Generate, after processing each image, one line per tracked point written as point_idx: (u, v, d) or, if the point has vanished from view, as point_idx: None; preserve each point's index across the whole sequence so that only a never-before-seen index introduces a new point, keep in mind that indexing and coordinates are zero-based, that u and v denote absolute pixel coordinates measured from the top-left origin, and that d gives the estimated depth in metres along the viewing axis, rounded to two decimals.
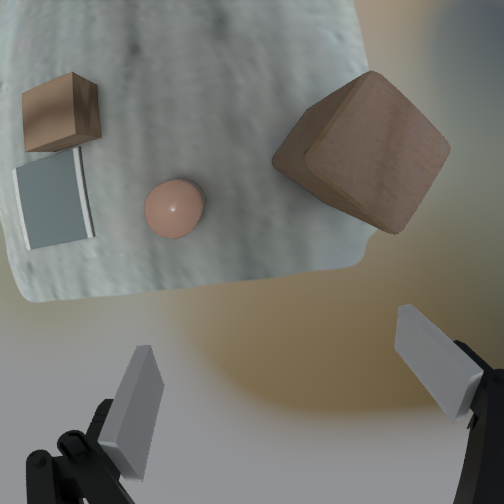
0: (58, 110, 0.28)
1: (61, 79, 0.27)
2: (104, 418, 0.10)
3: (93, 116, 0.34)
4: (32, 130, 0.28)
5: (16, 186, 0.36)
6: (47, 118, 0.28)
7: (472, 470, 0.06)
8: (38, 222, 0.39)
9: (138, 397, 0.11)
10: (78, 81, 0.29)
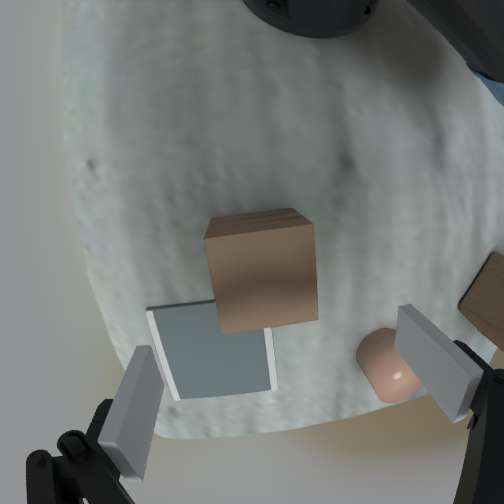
0: (289, 284, 0.24)
1: (292, 232, 0.23)
2: (104, 418, 0.10)
3: None
4: (236, 306, 0.24)
5: (155, 333, 0.32)
6: (268, 293, 0.24)
7: (472, 470, 0.06)
8: (195, 374, 0.34)
9: (138, 397, 0.11)
10: None
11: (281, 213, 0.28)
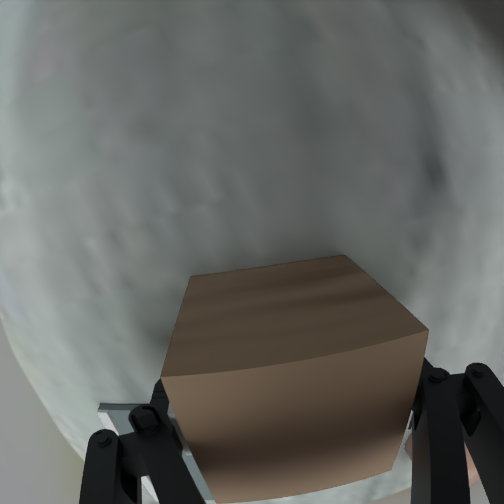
0: (356, 440, 0.09)
1: (384, 354, 0.08)
2: (164, 394, 0.12)
3: None
4: (244, 477, 0.10)
5: None
6: (311, 458, 0.09)
7: (423, 474, 0.06)
8: None
9: None
10: None
11: (331, 273, 0.14)
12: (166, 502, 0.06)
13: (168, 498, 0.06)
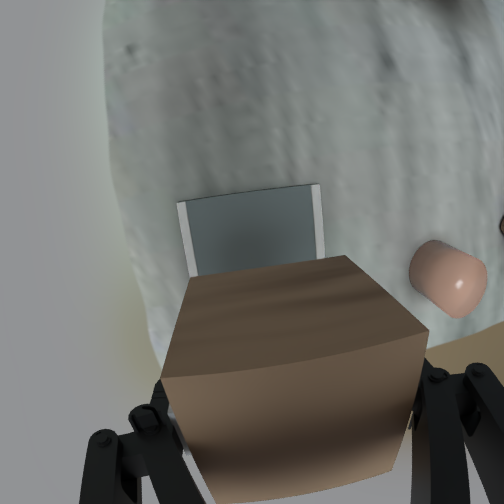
0: (356, 441, 0.09)
1: (384, 355, 0.08)
2: (164, 394, 0.12)
3: None
4: (244, 478, 0.10)
5: (186, 232, 0.28)
6: (311, 458, 0.09)
7: (423, 474, 0.06)
8: None
9: None
10: None
11: (331, 273, 0.14)
12: (166, 502, 0.06)
13: (168, 498, 0.06)
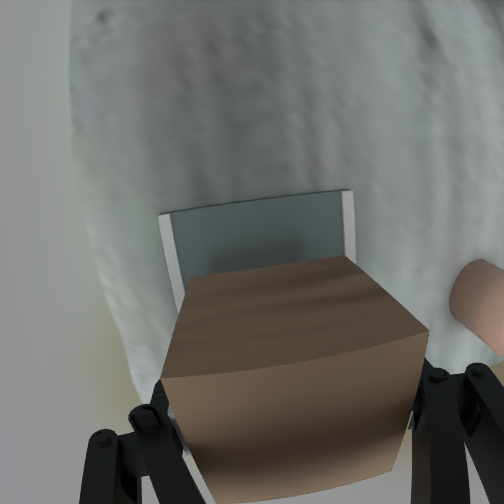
0: (356, 441, 0.09)
1: (384, 355, 0.08)
2: (164, 394, 0.12)
3: None
4: (244, 478, 0.10)
5: (171, 256, 0.20)
6: (311, 458, 0.09)
7: (423, 474, 0.06)
8: None
9: None
10: None
11: (331, 273, 0.14)
12: (166, 502, 0.06)
13: (168, 498, 0.06)
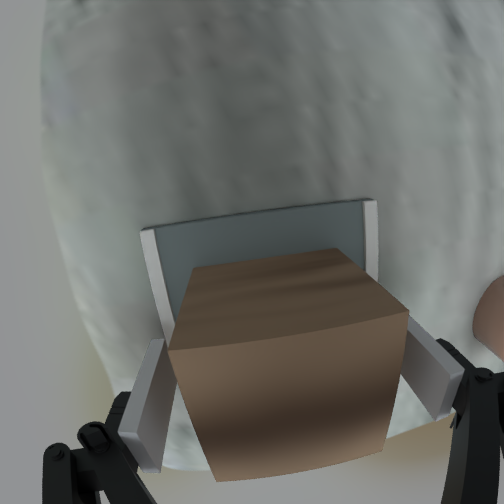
0: (346, 417, 0.11)
1: (368, 332, 0.09)
2: (121, 410, 0.11)
3: None
4: (242, 453, 0.11)
5: (157, 280, 0.17)
6: (305, 433, 0.11)
7: (458, 470, 0.06)
8: None
9: (155, 389, 0.12)
10: None
11: (323, 263, 0.15)
12: None
13: None
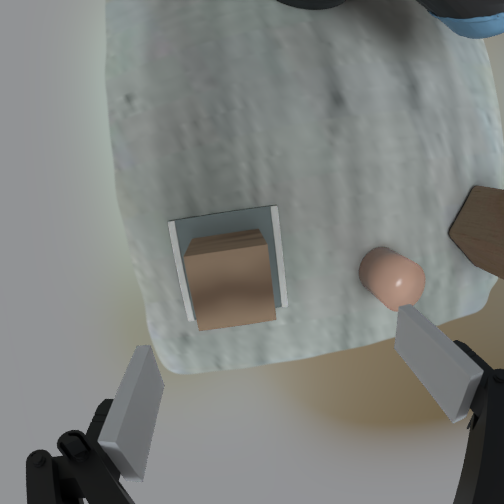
0: (251, 291, 0.30)
1: (251, 251, 0.29)
2: (104, 418, 0.10)
3: None
4: (209, 308, 0.31)
5: (175, 244, 0.36)
6: (234, 298, 0.30)
7: (472, 470, 0.06)
8: None
9: (138, 397, 0.11)
10: None
11: (247, 234, 0.35)
12: None
13: None
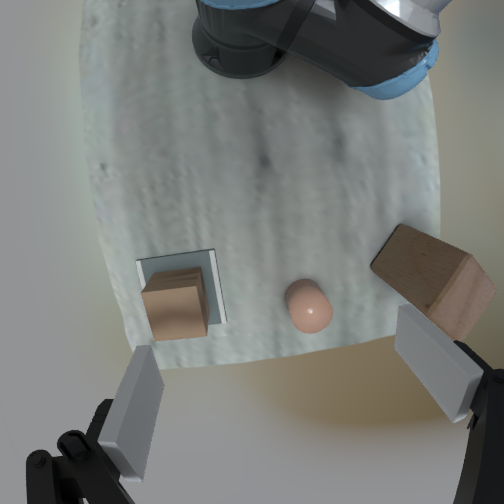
0: (187, 316, 0.43)
1: (185, 290, 0.42)
2: (104, 418, 0.10)
3: (205, 301, 0.49)
4: (160, 326, 0.43)
5: (141, 277, 0.49)
6: (176, 320, 0.43)
7: (472, 470, 0.06)
8: None
9: (138, 397, 0.11)
10: (198, 287, 0.43)
11: (190, 272, 0.47)
12: None
13: None
